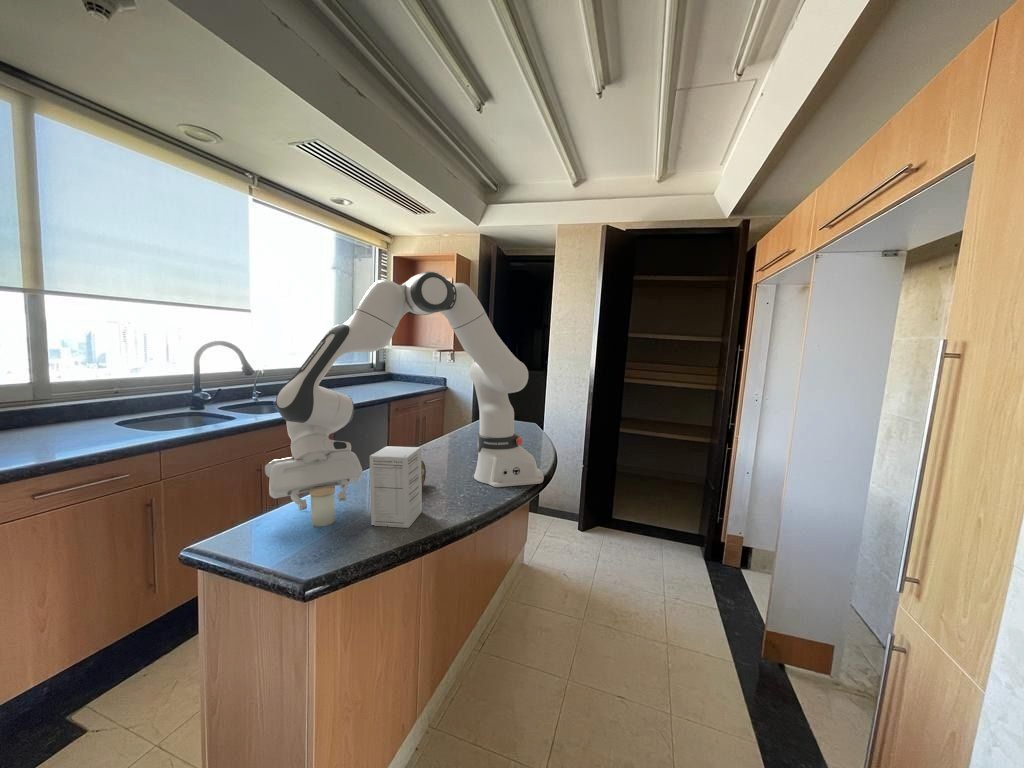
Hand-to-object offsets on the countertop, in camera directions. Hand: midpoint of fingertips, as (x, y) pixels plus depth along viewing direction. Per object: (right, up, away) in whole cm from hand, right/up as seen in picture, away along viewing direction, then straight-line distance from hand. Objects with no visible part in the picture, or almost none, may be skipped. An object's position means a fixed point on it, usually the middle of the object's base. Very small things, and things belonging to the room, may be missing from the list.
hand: (323, 504), depth 89 cm
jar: (0, -4, +1) cm, 4 cm away
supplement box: (+16, -5, +3) cm, 17 cm away
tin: (+15, -3, +20) cm, 25 cm away
